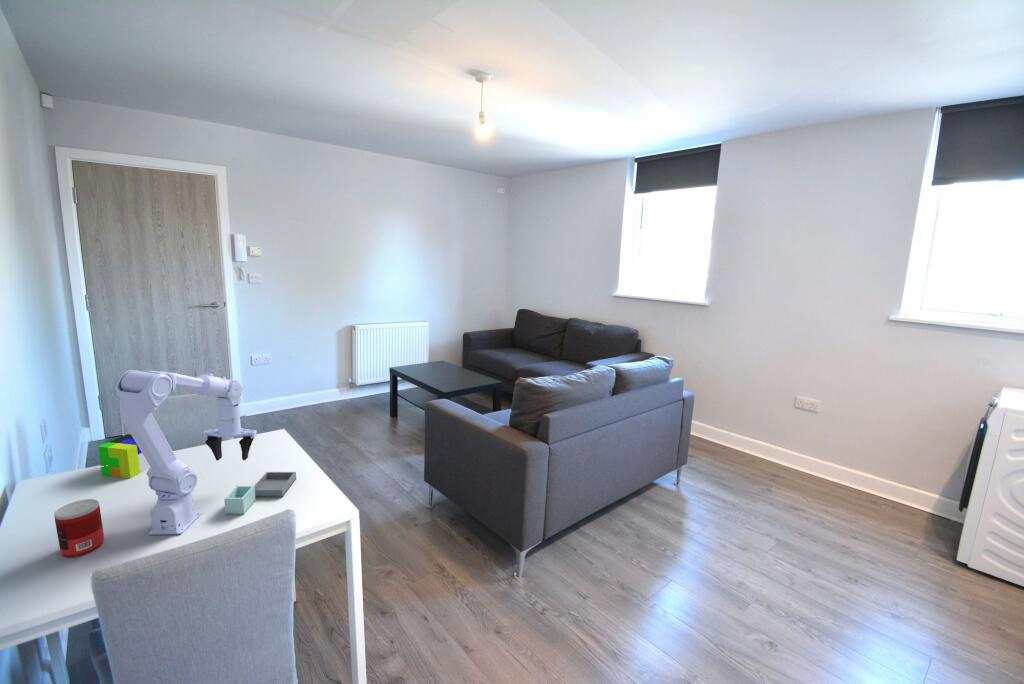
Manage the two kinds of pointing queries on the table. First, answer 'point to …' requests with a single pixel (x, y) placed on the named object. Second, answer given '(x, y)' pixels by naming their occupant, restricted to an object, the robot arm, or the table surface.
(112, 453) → the puzzle toy
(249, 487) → the small crate
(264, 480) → the gray tray
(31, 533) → the table surface
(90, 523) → the canned food
